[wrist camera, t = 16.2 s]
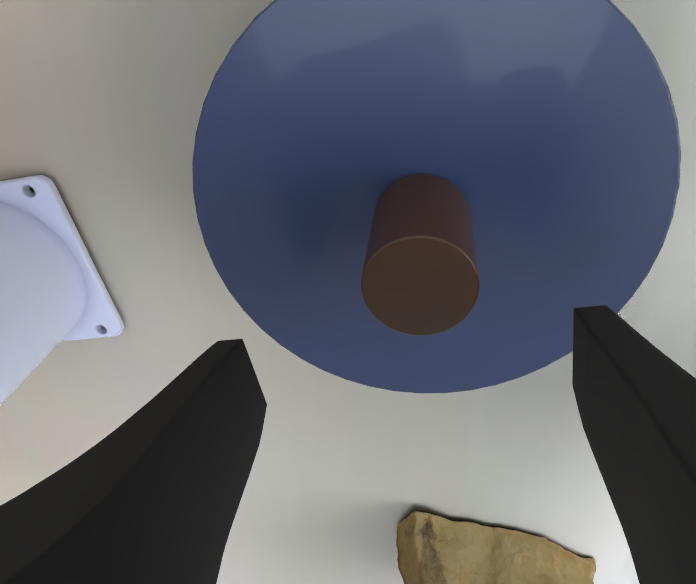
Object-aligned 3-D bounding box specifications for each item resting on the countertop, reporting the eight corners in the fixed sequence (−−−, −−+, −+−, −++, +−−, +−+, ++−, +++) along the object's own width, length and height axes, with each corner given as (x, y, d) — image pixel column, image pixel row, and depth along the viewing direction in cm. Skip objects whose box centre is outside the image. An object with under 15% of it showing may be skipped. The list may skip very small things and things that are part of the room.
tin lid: (270, 381, 19) (232, 489, 15) (138, 1, 13) (19, 24, 9) (642, 357, 17) (705, 478, 13) (695, -128, 10) (845, -167, 7)
